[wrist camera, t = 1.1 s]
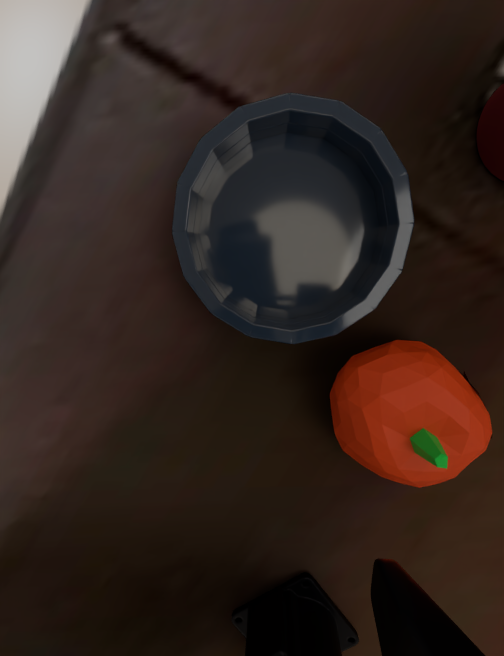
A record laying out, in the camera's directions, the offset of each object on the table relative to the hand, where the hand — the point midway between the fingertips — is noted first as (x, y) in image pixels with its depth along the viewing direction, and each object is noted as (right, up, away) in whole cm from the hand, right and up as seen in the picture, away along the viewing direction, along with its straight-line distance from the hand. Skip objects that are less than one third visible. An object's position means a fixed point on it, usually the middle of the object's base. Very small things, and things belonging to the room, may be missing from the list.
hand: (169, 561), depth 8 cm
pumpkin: (+10, +1, +13) cm, 16 cm away
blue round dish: (+4, +10, +11) cm, 16 cm away
